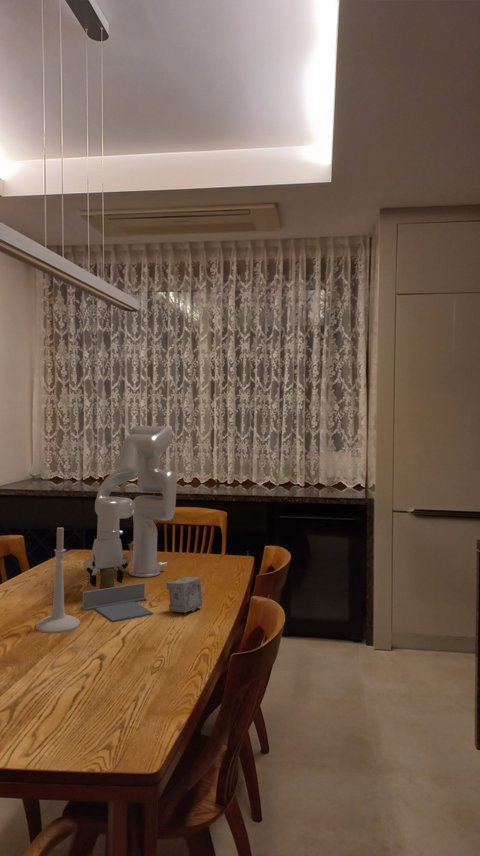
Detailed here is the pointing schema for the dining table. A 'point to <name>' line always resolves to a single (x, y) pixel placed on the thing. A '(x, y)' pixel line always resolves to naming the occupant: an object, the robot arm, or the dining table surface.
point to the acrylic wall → (113, 596)
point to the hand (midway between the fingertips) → (106, 584)
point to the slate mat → (123, 611)
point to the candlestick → (58, 598)
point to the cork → (107, 578)
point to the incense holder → (185, 594)
